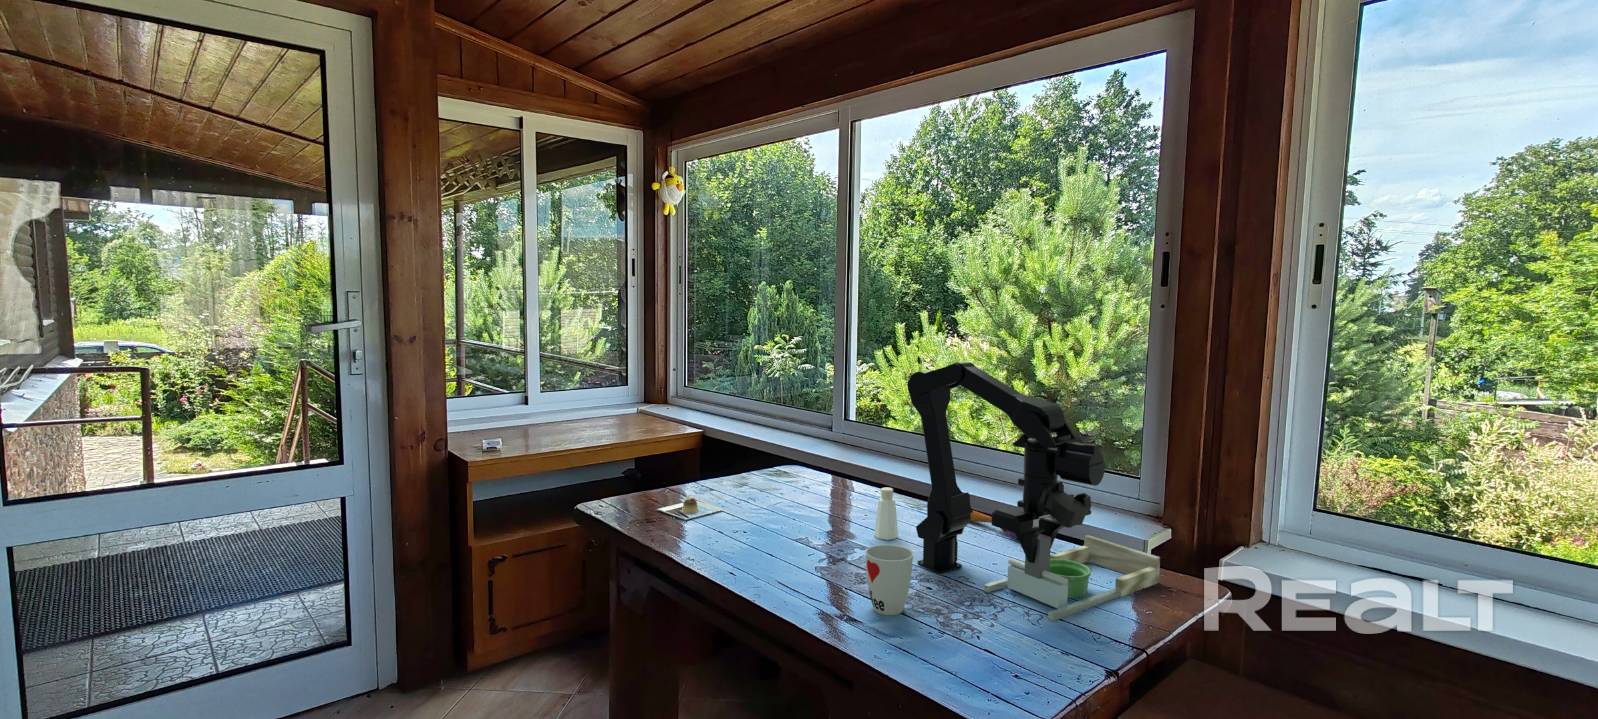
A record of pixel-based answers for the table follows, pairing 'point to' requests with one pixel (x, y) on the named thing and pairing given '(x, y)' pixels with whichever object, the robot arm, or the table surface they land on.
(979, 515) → the maraca
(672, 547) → the table surface
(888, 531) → the pepper shaker
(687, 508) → the dessert
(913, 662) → the table surface
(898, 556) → the cup
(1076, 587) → the ramekin
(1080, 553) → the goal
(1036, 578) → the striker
